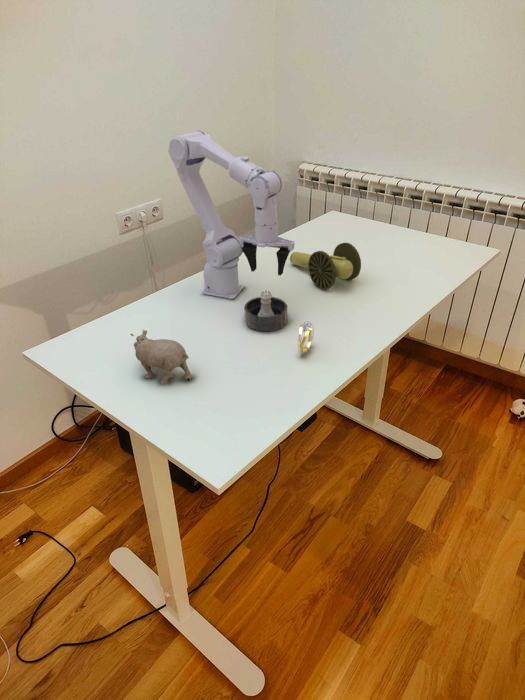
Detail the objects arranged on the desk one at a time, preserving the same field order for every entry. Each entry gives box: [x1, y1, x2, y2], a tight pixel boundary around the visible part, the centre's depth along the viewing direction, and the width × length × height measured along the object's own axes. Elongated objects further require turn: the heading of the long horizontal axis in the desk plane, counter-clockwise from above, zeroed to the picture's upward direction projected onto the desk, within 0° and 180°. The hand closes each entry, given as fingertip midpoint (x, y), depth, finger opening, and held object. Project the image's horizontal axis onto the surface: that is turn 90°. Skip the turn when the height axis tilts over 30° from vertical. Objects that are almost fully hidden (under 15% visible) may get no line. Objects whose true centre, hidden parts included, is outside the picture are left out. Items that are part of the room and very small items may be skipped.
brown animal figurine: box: [130, 329, 193, 385], centre depth 111 cm, size 8×14×15 cm
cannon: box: [289, 242, 362, 291], centre depth 151 cm, size 25×12×11 cm, turn 37°
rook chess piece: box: [258, 289, 274, 317], centre depth 130 cm, size 4×4×8 cm
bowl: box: [243, 296, 289, 332], centre depth 131 cm, size 11×11×4 cm
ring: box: [297, 321, 315, 355], centre depth 118 cm, size 7×3×8 cm, turn 148°
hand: (267, 272), depth 133 cm, fingers open, 7 cm apart
